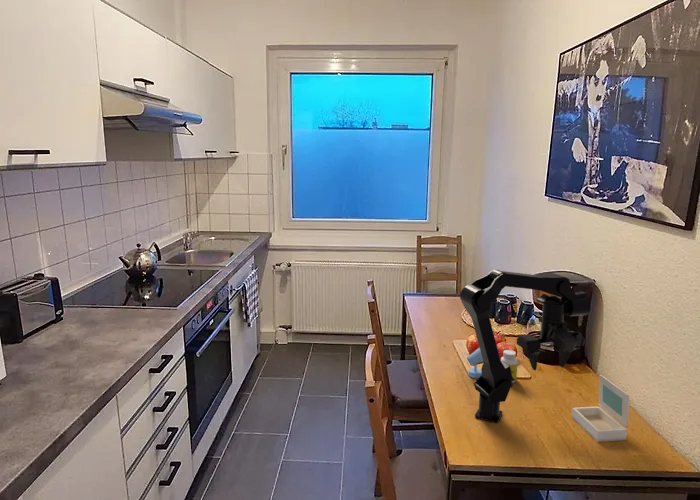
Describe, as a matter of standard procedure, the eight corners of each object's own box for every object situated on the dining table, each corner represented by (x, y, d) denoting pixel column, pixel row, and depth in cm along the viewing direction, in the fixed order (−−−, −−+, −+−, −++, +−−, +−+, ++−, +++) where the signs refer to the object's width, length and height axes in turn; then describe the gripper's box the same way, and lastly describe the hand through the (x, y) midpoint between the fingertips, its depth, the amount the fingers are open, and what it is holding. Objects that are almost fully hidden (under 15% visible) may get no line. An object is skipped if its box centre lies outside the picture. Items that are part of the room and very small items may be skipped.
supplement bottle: (497, 381, 157) (499, 353, 155) (500, 374, 162) (502, 347, 160) (514, 384, 154) (516, 356, 153) (517, 378, 159) (519, 350, 157)
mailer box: (596, 441, 123) (597, 431, 123) (571, 417, 135) (572, 407, 134) (625, 440, 124) (627, 429, 123) (598, 416, 136) (599, 406, 135)
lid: (626, 395, 121) (629, 394, 122) (598, 374, 133) (601, 374, 133) (625, 428, 123) (628, 427, 123) (598, 405, 135) (600, 404, 135)
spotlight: (482, 371, 164) (463, 372, 163) (484, 344, 162) (465, 345, 161) (489, 377, 159) (469, 379, 158) (490, 349, 158) (471, 351, 156)
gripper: (541, 329, 125) (537, 384, 128) (601, 324, 130) (595, 377, 133) (517, 316, 136) (513, 367, 139) (573, 311, 141) (568, 361, 143)
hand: (548, 368), depth 138 cm, fingers open, 9 cm apart
